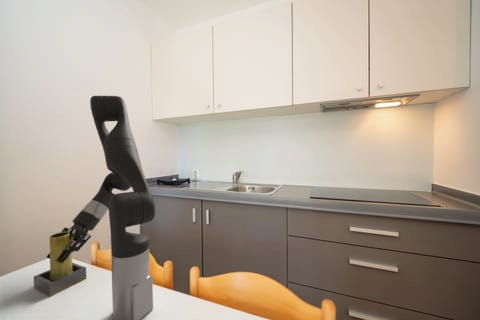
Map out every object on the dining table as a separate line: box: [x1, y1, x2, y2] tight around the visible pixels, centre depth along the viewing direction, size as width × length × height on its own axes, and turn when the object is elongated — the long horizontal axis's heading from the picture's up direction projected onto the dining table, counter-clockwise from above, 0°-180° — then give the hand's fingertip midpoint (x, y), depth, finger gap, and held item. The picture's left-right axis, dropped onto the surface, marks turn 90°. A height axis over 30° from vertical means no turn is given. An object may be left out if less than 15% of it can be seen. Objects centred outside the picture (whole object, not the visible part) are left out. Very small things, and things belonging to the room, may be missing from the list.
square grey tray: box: [33, 262, 87, 298], centre depth 70 cm, size 10×10×4 cm
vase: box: [49, 231, 73, 281], centre depth 70 cm, size 6×6×14 cm
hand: (54, 260), depth 69 cm, fingers closed on vase, 5 cm apart
